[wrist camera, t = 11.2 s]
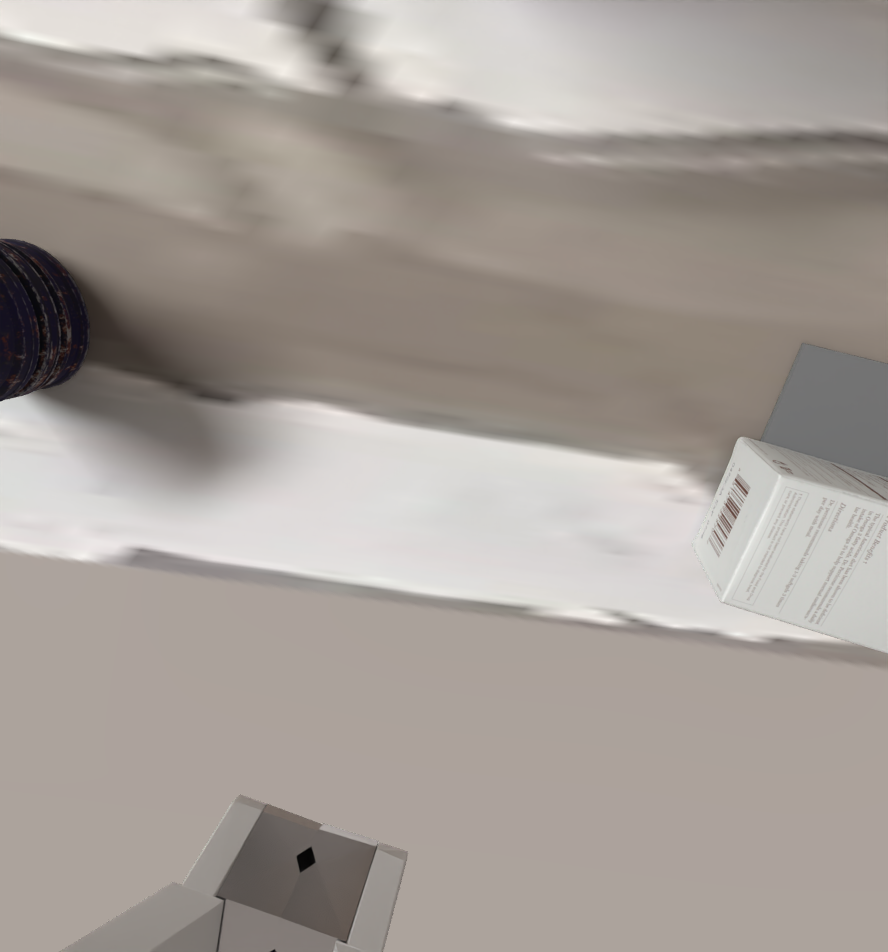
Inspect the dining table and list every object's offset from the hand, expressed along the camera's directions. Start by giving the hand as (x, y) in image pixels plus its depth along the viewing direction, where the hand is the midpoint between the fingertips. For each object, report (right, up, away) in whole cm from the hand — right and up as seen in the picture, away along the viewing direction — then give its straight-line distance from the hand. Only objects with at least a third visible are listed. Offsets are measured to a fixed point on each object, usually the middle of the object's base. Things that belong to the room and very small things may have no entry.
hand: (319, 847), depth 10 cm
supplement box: (+17, +4, +22) cm, 28 cm away
